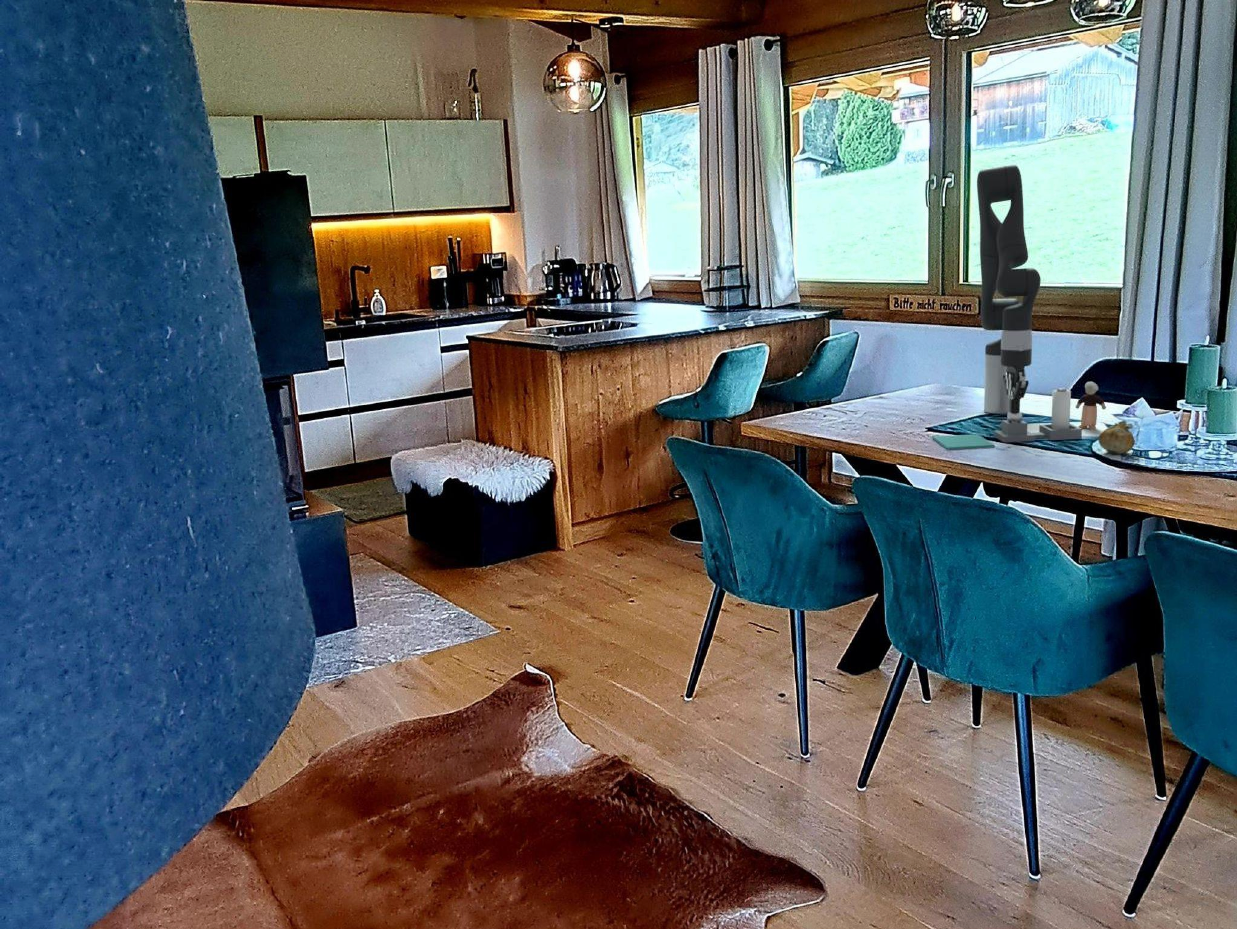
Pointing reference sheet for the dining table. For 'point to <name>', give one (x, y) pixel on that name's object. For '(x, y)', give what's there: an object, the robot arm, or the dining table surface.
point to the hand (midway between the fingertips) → (1014, 412)
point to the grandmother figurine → (1090, 406)
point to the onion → (1117, 438)
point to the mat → (963, 442)
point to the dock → (1020, 433)
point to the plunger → (1014, 417)
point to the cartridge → (1061, 409)
